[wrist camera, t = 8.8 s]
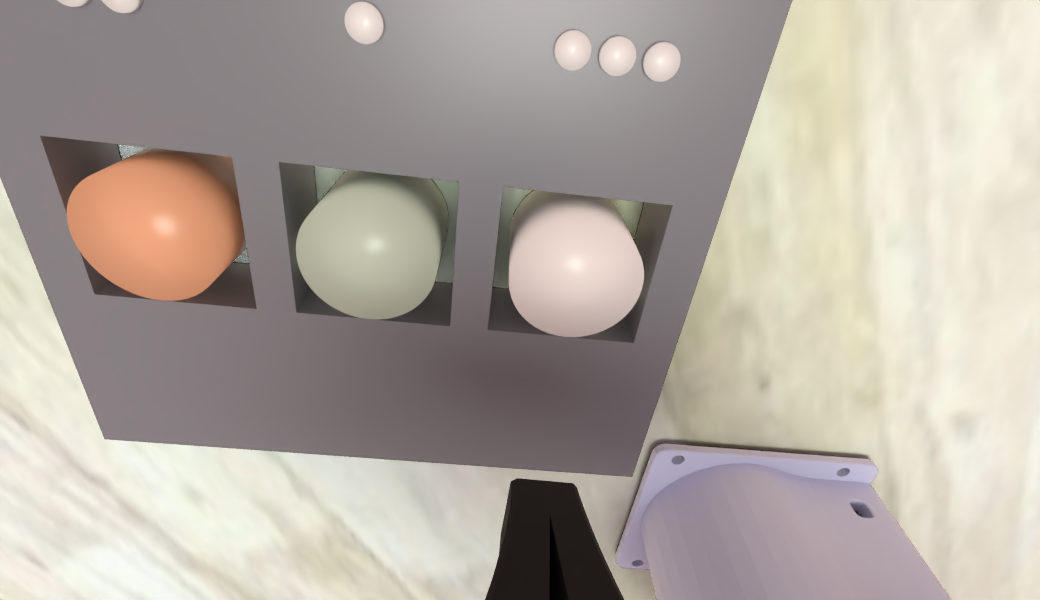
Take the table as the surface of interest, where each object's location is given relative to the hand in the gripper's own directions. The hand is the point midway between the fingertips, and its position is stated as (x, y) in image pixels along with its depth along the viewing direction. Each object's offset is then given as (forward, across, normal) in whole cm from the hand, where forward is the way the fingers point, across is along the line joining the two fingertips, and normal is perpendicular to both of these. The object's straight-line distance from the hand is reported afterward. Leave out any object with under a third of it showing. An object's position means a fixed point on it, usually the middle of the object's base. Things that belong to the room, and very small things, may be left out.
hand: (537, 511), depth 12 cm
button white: (+8, -1, -3) cm, 8 cm away
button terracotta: (+8, +10, -3) cm, 13 cm away
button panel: (+8, +5, -3) cm, 10 cm away
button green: (+8, +5, -3) cm, 10 cm away
